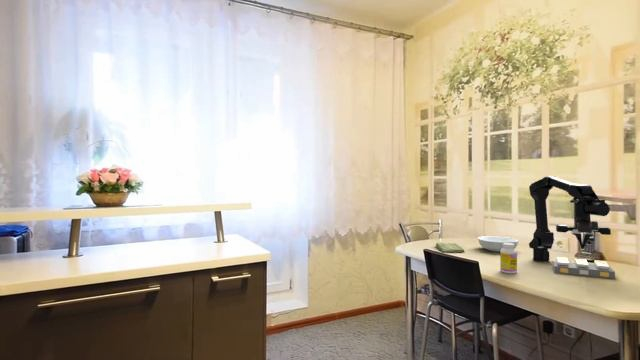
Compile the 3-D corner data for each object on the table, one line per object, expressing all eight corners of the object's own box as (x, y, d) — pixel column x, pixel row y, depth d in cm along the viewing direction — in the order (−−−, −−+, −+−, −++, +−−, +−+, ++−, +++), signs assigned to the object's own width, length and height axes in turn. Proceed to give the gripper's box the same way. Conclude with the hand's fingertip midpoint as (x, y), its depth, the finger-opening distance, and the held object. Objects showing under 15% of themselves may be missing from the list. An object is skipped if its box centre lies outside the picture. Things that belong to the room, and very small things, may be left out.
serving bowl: (526, 254, 192) (526, 241, 192) (488, 254, 192) (487, 242, 192) (506, 246, 213) (506, 235, 212) (472, 247, 213) (471, 235, 213)
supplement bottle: (510, 274, 154) (510, 245, 154) (497, 271, 160) (497, 243, 159) (520, 272, 157) (520, 244, 157) (506, 269, 163) (506, 241, 163)
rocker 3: (597, 268, 150) (597, 265, 150) (594, 262, 155) (594, 260, 155) (609, 269, 148) (609, 266, 148) (605, 263, 153) (605, 260, 153)
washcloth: (442, 253, 198) (442, 248, 198) (434, 247, 216) (434, 242, 216) (466, 253, 197) (466, 248, 197) (456, 247, 215) (456, 242, 215)
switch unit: (554, 272, 155) (554, 265, 155) (552, 267, 164) (552, 260, 164) (615, 279, 145) (615, 270, 145) (609, 272, 154) (609, 265, 154)
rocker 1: (558, 264, 157) (558, 262, 157) (556, 259, 162) (556, 256, 162) (568, 265, 155) (568, 263, 155) (567, 260, 160) (567, 257, 160)
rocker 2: (577, 266, 153) (577, 263, 153) (575, 261, 159) (575, 258, 158) (588, 267, 151) (588, 264, 151) (586, 262, 157) (586, 259, 156)
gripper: (558, 214, 150) (558, 250, 151) (614, 216, 141) (614, 254, 142) (555, 212, 160) (556, 245, 160) (607, 213, 151) (607, 249, 151)
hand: (582, 249), depth 153 cm, fingers closed
